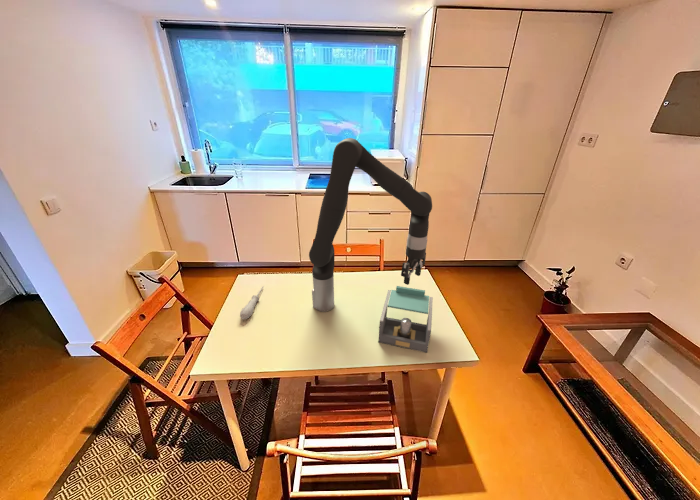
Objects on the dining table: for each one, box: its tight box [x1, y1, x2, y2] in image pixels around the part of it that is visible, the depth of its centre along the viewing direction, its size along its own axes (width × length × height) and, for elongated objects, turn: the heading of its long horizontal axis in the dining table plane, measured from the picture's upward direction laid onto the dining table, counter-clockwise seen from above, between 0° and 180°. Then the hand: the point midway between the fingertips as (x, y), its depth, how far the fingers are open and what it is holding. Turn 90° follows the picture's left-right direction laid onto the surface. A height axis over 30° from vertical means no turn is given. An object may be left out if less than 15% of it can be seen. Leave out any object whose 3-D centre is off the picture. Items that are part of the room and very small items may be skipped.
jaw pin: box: [399, 317, 413, 339], centre depth 114 cm, size 4×4×9 cm
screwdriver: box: [239, 286, 264, 320], centre depth 136 cm, size 5×25×4 cm, turn 175°
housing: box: [377, 289, 434, 353], centre depth 119 cm, size 19×20×12 cm
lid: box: [387, 285, 430, 315], centre depth 119 cm, size 16×11×3 cm
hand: (412, 279), depth 119 cm, fingers open, 8 cm apart
